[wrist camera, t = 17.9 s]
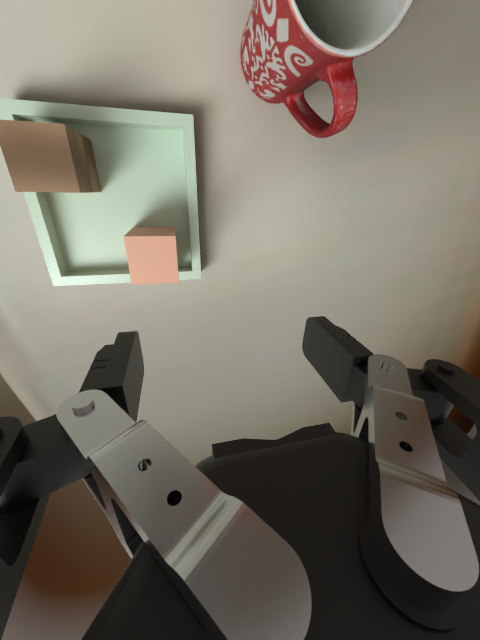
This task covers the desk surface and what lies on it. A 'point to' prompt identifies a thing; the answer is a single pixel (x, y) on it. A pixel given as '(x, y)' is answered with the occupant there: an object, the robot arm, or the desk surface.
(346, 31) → the mug
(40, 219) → the tray
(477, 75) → the desk surface
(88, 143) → the walnut block
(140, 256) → the terracotta block
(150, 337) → the desk surface
